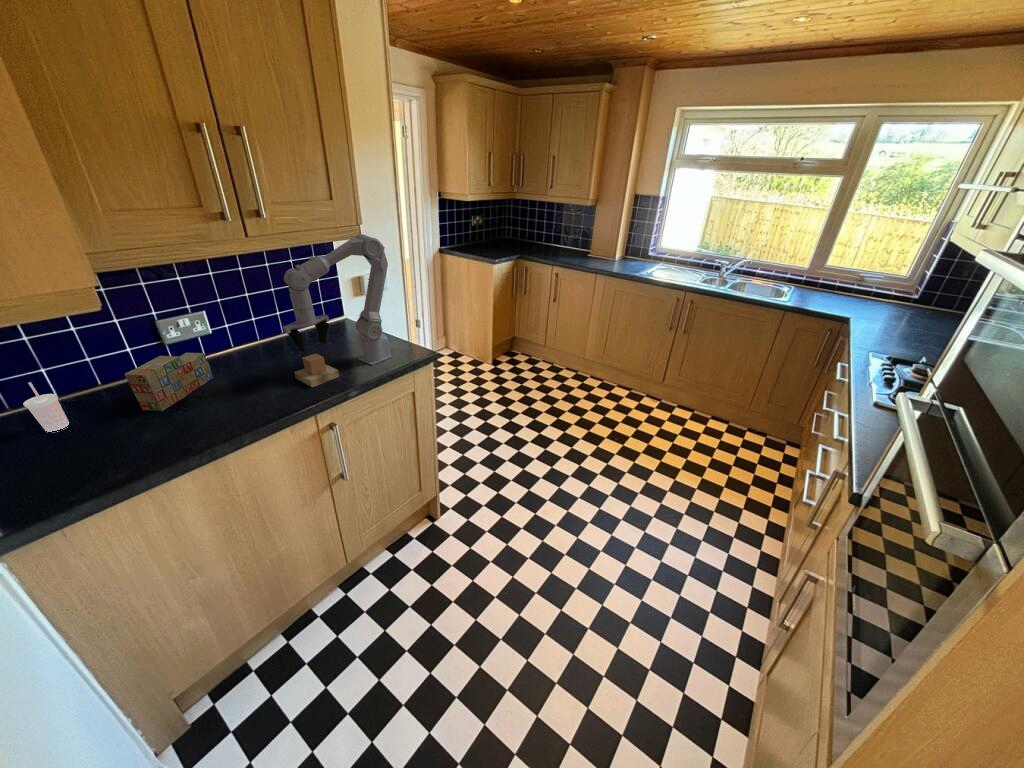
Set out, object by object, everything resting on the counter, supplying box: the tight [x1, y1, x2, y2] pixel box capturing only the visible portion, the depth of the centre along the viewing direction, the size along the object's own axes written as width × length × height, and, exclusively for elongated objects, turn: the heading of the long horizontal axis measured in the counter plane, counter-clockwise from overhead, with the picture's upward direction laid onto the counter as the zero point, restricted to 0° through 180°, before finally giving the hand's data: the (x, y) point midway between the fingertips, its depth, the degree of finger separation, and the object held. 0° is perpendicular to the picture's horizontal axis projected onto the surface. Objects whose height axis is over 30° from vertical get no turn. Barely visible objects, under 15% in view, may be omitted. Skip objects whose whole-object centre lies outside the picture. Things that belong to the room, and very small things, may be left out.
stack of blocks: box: [124, 352, 214, 412], centre depth 124 cm, size 21×6×12 cm, turn 176°
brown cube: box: [302, 353, 326, 375], centre depth 135 cm, size 5×5×5 cm
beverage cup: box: [22, 381, 70, 433], centre depth 106 cm, size 6×6×14 cm
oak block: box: [294, 363, 340, 388], centre depth 137 cm, size 10×10×3 cm
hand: (312, 346), depth 135 cm, fingers open, 7 cm apart
